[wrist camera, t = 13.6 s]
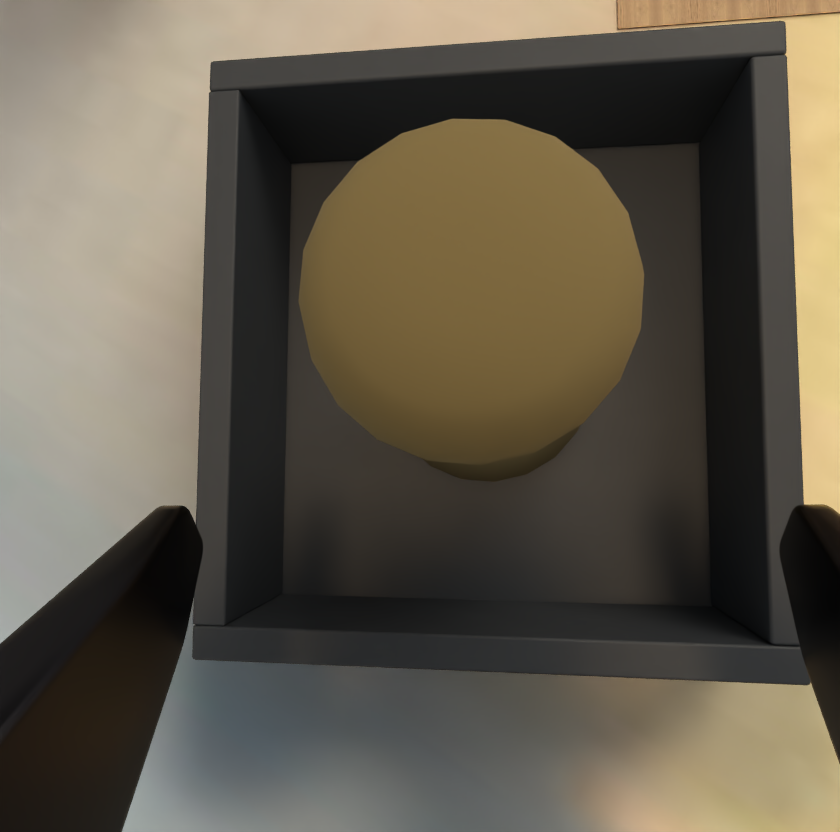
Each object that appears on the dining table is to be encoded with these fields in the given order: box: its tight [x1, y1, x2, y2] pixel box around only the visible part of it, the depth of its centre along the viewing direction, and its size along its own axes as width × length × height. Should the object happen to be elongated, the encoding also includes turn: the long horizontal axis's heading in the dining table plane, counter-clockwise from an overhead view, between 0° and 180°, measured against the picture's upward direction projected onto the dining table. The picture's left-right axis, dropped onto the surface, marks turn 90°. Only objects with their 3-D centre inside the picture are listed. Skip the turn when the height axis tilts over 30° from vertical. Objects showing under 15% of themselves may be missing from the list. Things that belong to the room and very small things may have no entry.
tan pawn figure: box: [298, 119, 644, 482], centre depth 14 cm, size 6×6×11 cm
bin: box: [192, 21, 811, 685], centre depth 18 cm, size 15×14×5 cm
